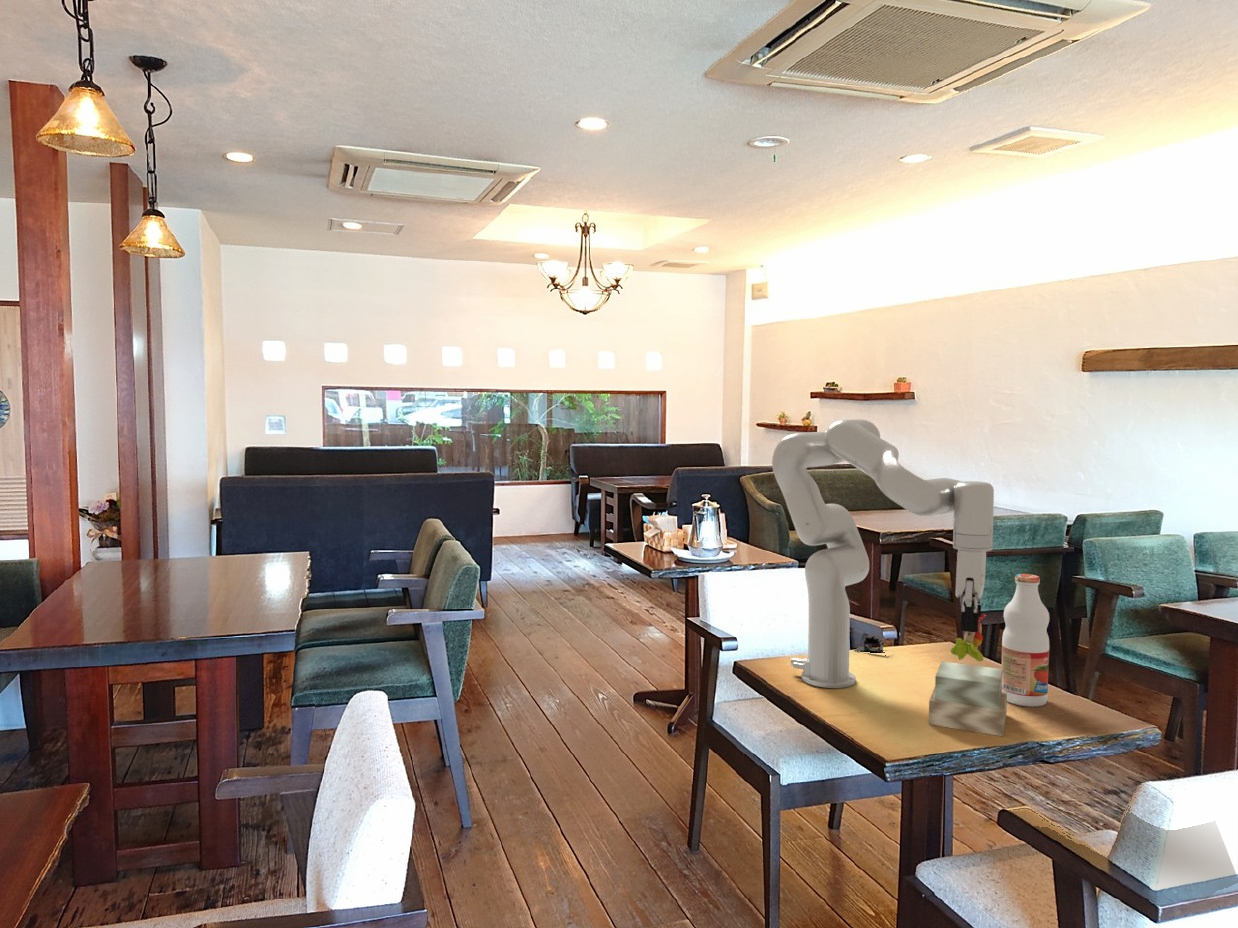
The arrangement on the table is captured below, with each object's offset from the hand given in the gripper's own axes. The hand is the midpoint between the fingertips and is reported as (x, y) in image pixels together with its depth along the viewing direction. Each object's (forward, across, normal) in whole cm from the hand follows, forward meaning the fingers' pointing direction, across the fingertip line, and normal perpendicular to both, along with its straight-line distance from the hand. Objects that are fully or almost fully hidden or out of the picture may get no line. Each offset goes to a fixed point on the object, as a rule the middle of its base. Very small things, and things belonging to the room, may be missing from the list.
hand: (970, 626), depth 174 cm
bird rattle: (+7, 0, 0) cm, 7 cm away
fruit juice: (+20, -18, +10) cm, 29 cm away
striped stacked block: (+20, 0, 0) cm, 20 cm away
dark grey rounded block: (+20, -41, -27) cm, 53 cm away
